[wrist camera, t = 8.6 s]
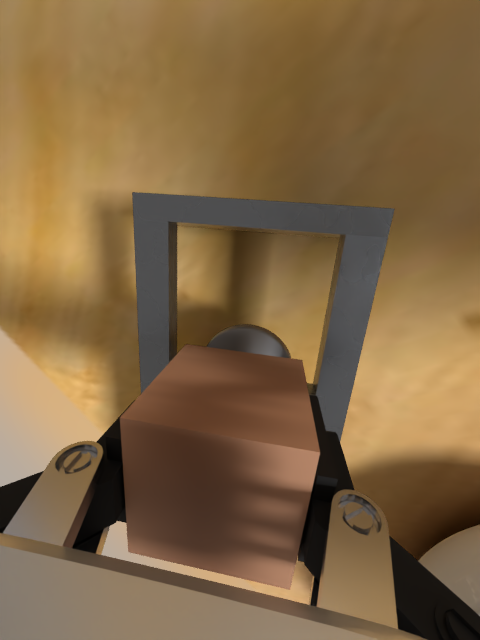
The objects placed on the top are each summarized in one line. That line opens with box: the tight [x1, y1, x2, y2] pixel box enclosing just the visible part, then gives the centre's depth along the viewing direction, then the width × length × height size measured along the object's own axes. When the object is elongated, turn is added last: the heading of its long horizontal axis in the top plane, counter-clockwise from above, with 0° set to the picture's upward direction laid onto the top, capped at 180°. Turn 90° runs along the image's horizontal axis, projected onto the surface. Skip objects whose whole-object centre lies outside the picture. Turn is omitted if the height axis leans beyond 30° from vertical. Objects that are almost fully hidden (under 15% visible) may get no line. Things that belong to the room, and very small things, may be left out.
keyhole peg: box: [120, 324, 320, 590], centre depth 11 cm, size 5×5×8 cm
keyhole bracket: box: [132, 192, 394, 441], centre depth 15 cm, size 18×10×6 cm, turn 176°
